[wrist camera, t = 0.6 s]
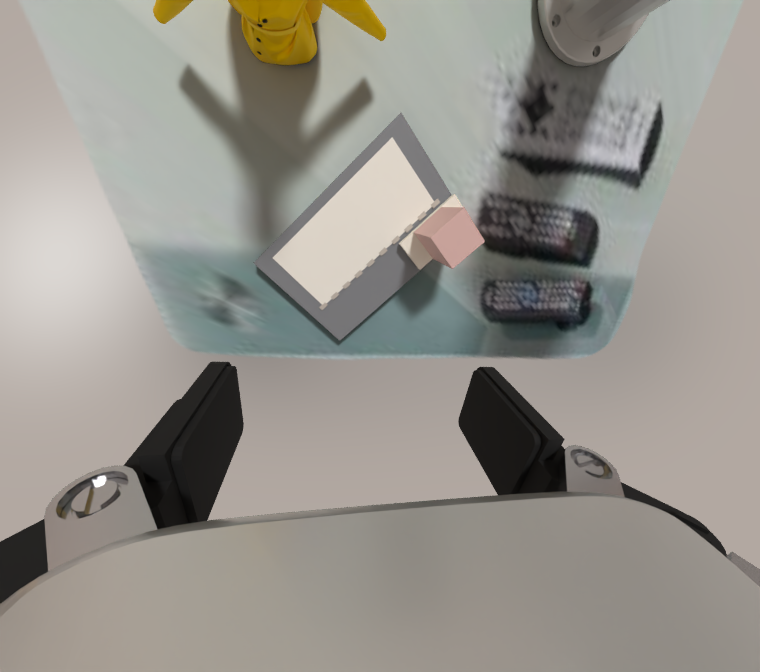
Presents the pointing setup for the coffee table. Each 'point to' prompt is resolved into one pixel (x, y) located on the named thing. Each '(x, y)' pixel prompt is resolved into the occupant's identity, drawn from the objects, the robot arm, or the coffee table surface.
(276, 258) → the board
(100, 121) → the coffee table surface
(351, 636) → the robot arm
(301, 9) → the figure statuette
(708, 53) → the coffee table surface
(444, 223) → the stub
